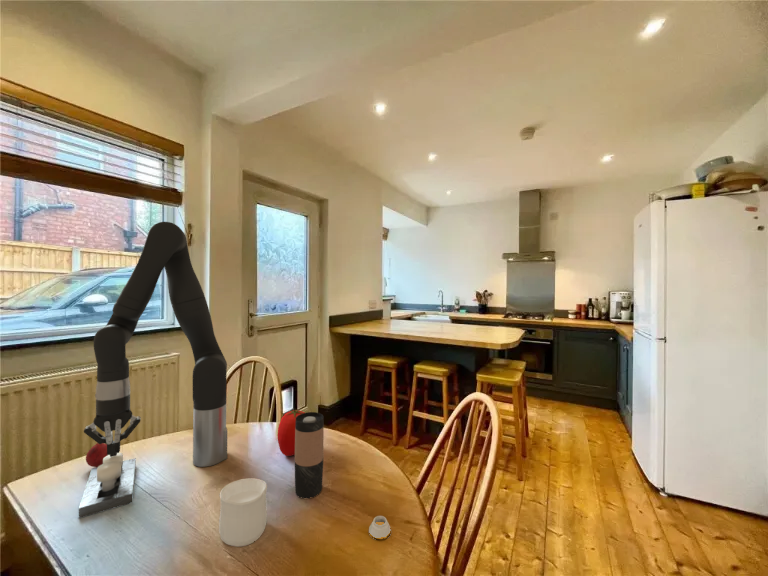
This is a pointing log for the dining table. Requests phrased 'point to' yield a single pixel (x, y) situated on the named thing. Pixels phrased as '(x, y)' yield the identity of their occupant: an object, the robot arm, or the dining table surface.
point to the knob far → (114, 458)
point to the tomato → (288, 432)
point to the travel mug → (309, 454)
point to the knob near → (108, 474)
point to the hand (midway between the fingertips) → (113, 454)
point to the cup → (243, 511)
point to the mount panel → (106, 500)
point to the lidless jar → (379, 527)
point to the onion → (96, 455)
